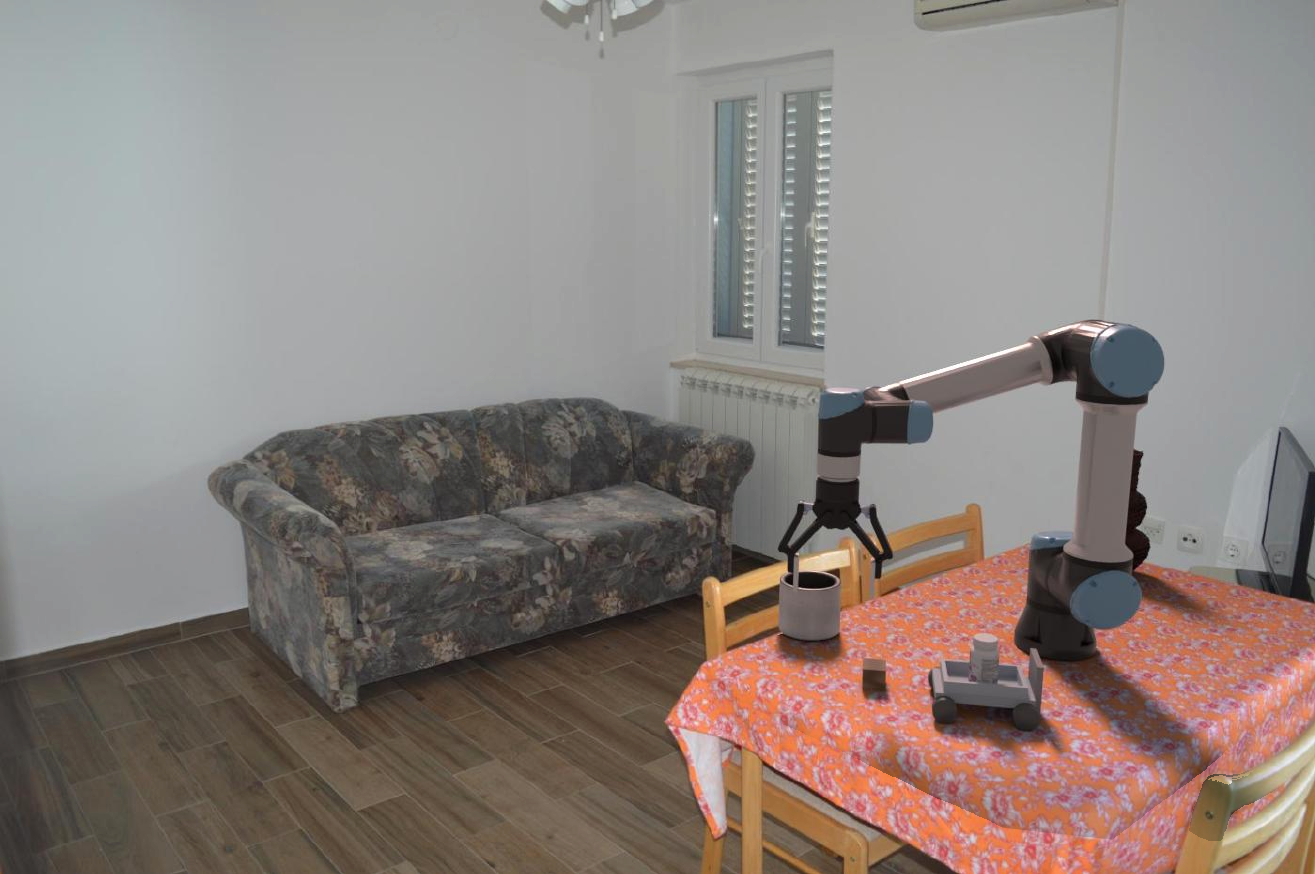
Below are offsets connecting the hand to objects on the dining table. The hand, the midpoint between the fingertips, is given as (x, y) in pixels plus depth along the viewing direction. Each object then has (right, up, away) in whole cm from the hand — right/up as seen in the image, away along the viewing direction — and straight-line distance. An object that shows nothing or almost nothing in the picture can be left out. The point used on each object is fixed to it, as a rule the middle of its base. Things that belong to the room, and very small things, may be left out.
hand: (833, 592), depth 182 cm
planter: (0, -12, +27) cm, 29 cm away
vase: (+78, -5, +62) cm, 99 cm away
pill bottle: (+24, -14, -8) cm, 29 cm away
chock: (+8, -17, +2) cm, 19 cm away
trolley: (+24, -19, -7) cm, 31 cm away
